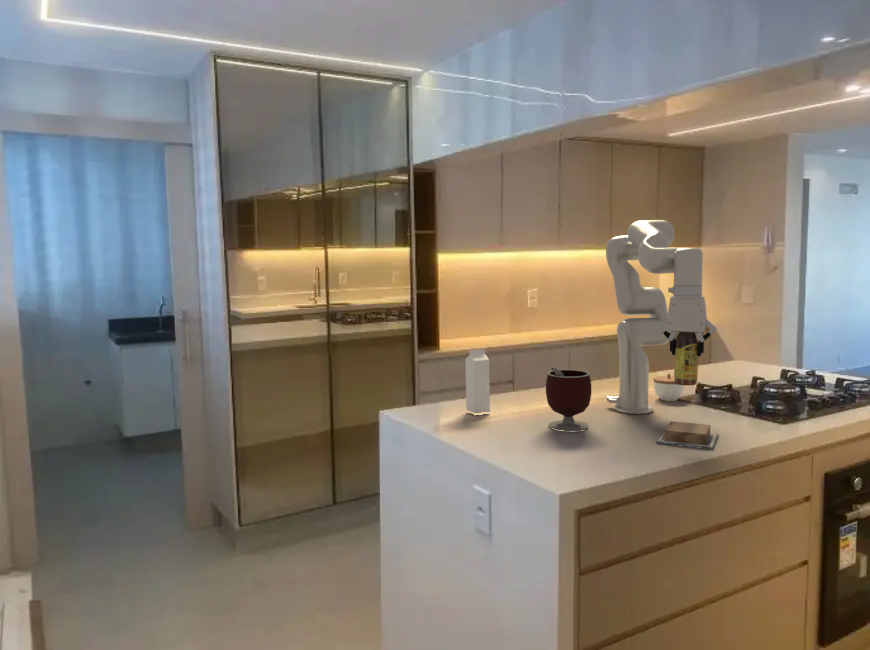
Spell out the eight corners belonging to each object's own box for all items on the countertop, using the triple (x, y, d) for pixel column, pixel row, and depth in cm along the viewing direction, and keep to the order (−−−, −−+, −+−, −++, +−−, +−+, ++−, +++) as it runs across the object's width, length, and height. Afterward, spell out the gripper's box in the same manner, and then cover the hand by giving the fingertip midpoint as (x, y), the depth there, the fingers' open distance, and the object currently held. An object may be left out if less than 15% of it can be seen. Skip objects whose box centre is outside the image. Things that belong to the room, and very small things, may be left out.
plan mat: (655, 443, 193) (656, 431, 192) (664, 430, 206) (665, 419, 205) (712, 449, 186) (713, 436, 185) (718, 436, 199) (718, 424, 198)
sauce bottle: (686, 387, 190) (686, 316, 188) (669, 383, 196) (669, 315, 194) (703, 384, 193) (703, 315, 191) (685, 381, 199) (686, 313, 197)
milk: (466, 413, 234) (464, 349, 231) (481, 410, 236) (480, 348, 234) (475, 416, 228) (473, 351, 226) (490, 414, 231) (489, 350, 229)
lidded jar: (687, 398, 250) (687, 372, 249) (680, 403, 241) (680, 377, 240) (657, 395, 255) (657, 370, 254) (649, 400, 246) (649, 375, 245)
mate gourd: (562, 419, 222) (562, 358, 220) (599, 426, 212) (600, 363, 210) (533, 428, 211) (533, 365, 209) (571, 436, 201) (571, 370, 199)
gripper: (653, 292, 192) (652, 355, 194) (719, 292, 184) (717, 358, 186) (658, 291, 199) (657, 351, 201) (722, 291, 191) (720, 354, 193)
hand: (686, 354), depth 193 cm, fingers closed on sauce bottle, 6 cm apart
